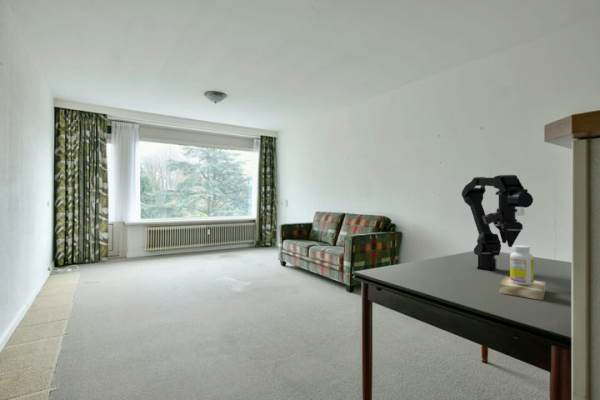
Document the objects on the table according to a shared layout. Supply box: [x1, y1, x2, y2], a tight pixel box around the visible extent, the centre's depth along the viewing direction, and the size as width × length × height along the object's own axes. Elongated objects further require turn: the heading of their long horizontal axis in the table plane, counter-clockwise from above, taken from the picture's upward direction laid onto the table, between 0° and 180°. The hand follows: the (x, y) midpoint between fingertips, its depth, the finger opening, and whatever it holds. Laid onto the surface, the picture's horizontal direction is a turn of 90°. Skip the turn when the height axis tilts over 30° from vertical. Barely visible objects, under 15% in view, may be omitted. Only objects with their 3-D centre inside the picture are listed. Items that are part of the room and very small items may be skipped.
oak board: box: [498, 276, 547, 301], centre depth 110 cm, size 12×12×3 cm
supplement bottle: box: [509, 244, 534, 285], centre depth 110 cm, size 7×7×13 cm
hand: (506, 244), depth 128 cm, fingers open, 9 cm apart
